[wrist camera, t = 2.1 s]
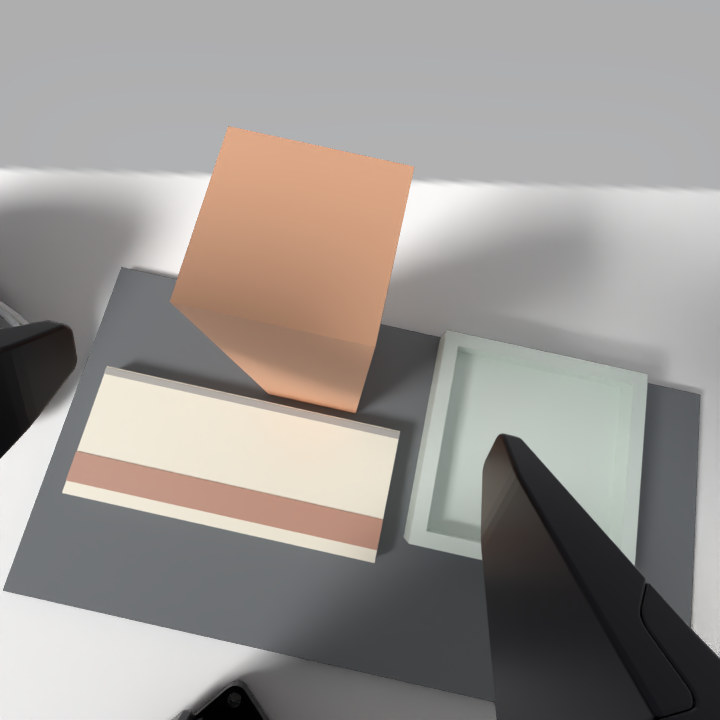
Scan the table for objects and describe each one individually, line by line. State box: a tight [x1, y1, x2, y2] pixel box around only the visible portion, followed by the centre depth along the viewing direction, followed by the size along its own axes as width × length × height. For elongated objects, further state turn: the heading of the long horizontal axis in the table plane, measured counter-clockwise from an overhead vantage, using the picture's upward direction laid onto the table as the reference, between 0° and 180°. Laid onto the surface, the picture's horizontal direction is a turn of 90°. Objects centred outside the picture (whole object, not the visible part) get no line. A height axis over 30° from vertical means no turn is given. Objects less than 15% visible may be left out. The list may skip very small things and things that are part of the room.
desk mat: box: [3, 267, 700, 702], centre depth 20 cm, size 14×28×1 cm, turn 78°
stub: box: [170, 127, 414, 413], centre depth 15 cm, size 4×4×12 cm
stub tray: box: [404, 330, 648, 566], centre depth 19 cm, size 9×9×2 cm
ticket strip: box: [62, 366, 400, 563], centre depth 19 cm, size 5×13×1 cm, turn 78°
